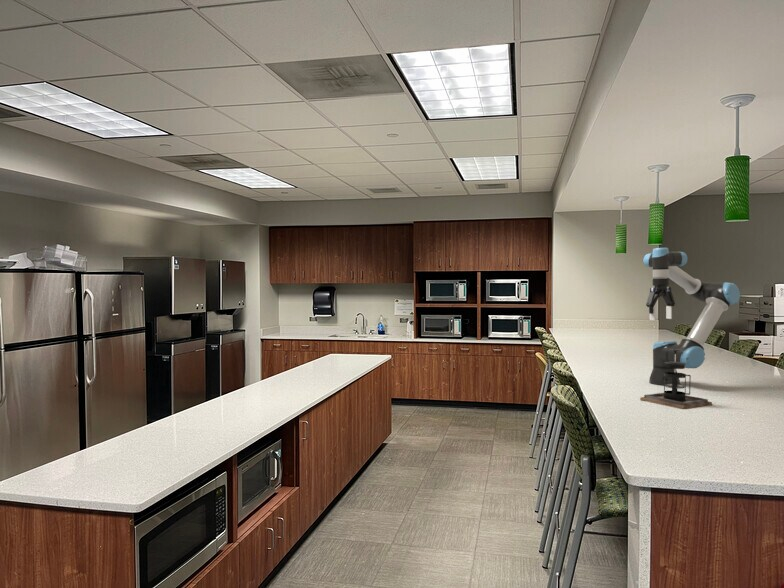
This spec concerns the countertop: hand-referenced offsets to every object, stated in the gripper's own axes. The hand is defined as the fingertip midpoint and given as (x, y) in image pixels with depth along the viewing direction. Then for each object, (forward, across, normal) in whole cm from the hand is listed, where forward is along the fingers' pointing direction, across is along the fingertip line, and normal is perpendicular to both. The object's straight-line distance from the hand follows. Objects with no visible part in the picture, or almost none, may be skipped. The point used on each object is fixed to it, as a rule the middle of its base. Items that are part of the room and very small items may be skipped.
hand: (660, 319), depth 296 cm
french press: (+35, +23, +23) cm, 48 cm away
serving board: (+36, +23, +23) cm, 49 cm away
